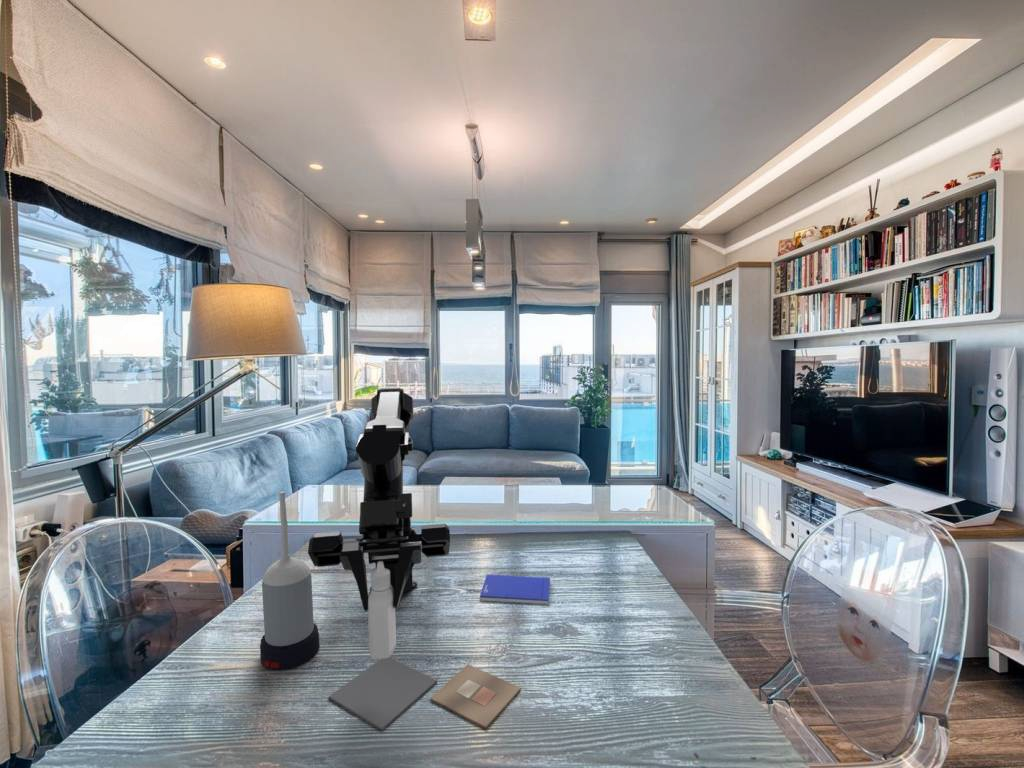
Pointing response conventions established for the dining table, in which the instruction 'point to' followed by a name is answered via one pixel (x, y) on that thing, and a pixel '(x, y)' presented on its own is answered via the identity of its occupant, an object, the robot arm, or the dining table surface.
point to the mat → (383, 692)
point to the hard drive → (516, 589)
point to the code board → (476, 695)
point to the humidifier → (287, 609)
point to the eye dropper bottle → (381, 614)
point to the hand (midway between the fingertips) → (380, 609)
